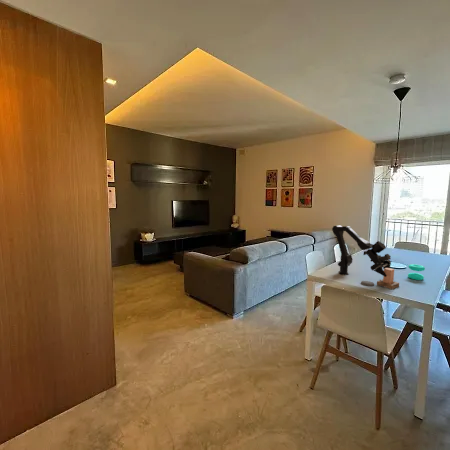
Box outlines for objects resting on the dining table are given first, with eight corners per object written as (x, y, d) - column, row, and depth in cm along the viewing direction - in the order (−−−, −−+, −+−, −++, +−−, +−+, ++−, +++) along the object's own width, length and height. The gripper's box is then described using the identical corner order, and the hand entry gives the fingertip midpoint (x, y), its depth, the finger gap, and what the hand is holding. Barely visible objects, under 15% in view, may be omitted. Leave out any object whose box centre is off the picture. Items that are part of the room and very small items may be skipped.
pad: (359, 281, 189) (359, 280, 189) (372, 282, 187) (372, 281, 187) (362, 285, 181) (362, 284, 181) (375, 286, 179) (375, 285, 179)
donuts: (424, 268, 189) (408, 265, 195) (423, 281, 190) (406, 278, 197) (425, 265, 197) (409, 263, 203) (424, 278, 198) (408, 275, 204)
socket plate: (376, 284, 182) (377, 281, 182) (383, 282, 188) (384, 278, 188) (392, 289, 174) (392, 285, 174) (399, 286, 180) (399, 282, 179)
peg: (382, 285, 182) (384, 268, 180) (385, 284, 184) (387, 267, 183) (389, 287, 178) (391, 270, 176) (392, 286, 180) (394, 269, 179)
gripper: (376, 251, 177) (392, 271, 169) (389, 248, 187) (405, 267, 180) (364, 260, 184) (379, 279, 177) (377, 257, 195) (392, 275, 187)
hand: (389, 275), depth 180 cm, fingers open, 9 cm apart
